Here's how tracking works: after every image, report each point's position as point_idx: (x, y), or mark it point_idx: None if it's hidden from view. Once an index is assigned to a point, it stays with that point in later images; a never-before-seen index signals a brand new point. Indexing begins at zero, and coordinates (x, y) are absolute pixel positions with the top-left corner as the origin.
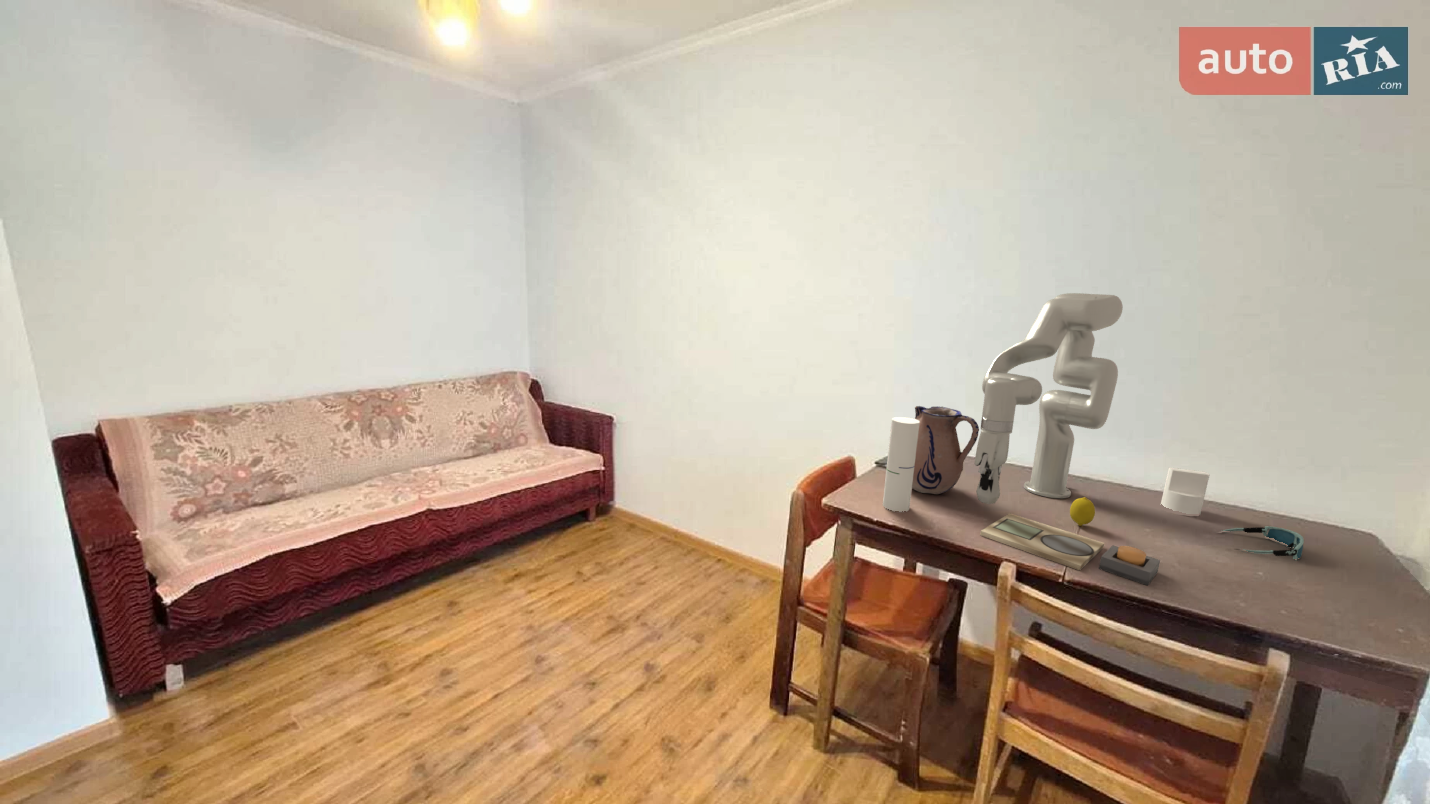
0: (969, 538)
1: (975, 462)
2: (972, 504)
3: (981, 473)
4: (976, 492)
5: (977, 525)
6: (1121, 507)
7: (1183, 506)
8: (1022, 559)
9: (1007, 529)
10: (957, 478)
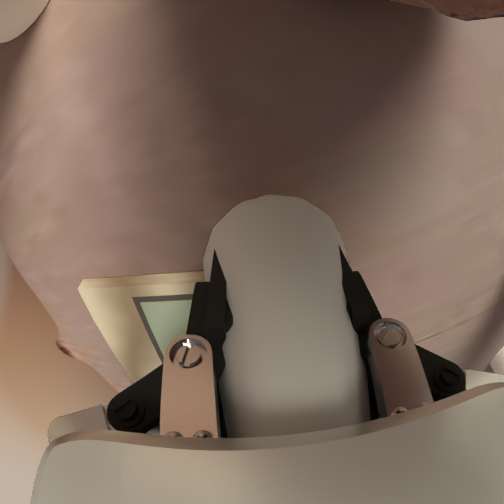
0: (44, 272)
1: (40, 471)
2: (341, 108)
3: (94, 414)
4: (234, 207)
5: (133, 237)
6: (501, 327)
7: (497, 369)
8: (93, 363)
9: (164, 324)
10: (409, 2)
